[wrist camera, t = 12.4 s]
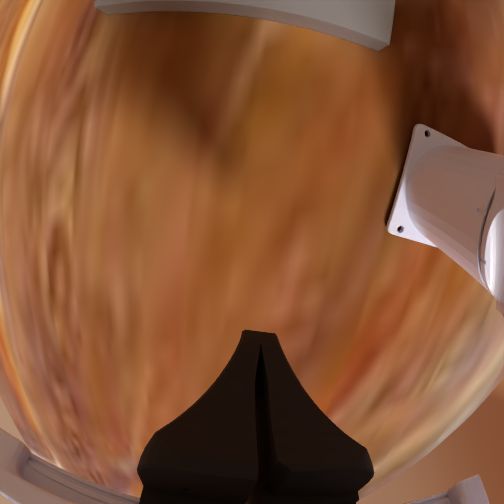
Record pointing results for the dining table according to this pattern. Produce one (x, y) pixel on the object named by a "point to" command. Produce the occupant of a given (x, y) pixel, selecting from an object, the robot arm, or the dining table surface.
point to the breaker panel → (287, 14)
